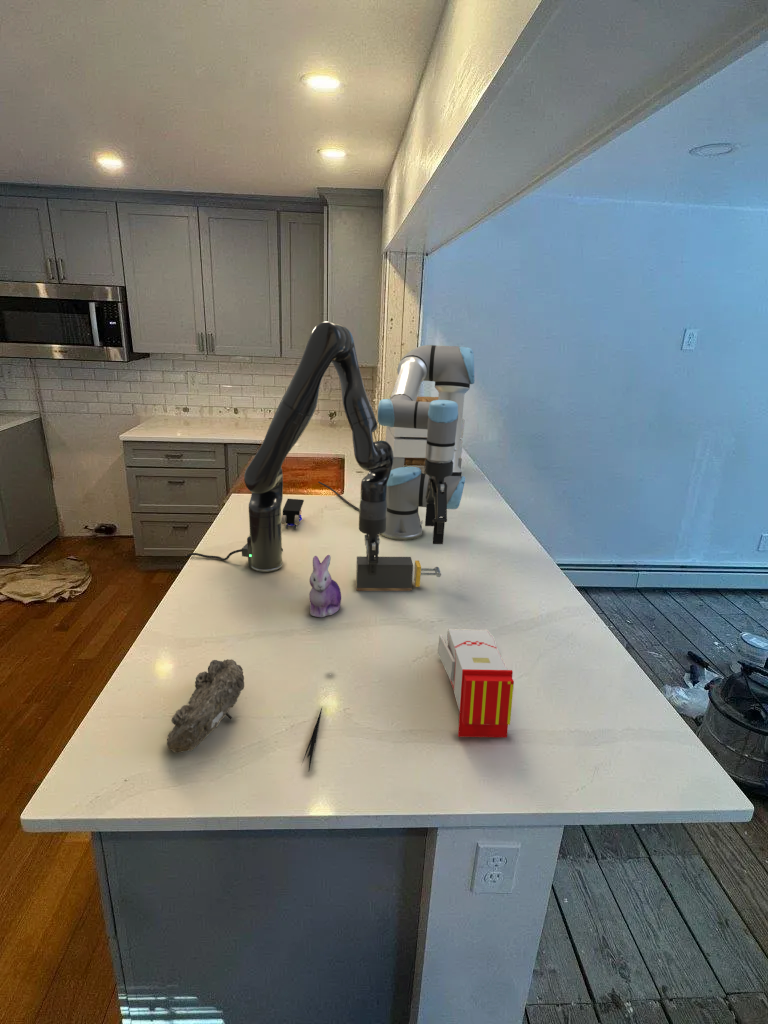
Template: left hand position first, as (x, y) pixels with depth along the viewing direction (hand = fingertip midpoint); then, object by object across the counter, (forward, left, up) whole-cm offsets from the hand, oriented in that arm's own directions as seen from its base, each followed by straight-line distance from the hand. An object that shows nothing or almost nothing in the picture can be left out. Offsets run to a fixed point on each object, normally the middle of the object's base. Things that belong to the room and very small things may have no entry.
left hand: (371, 568), depth 160 cm
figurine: (-7, -17, -6) cm, 19 cm away
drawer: (+9, +3, -5) cm, 11 cm away
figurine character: (-41, +36, -6) cm, 54 cm away
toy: (+34, -38, -6) cm, 51 cm away
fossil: (-12, -62, -6) cm, 64 cm away
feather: (+8, -56, -6) cm, 57 cm away
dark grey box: (+3, +1, -6) cm, 7 cm away
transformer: (-13, +121, -6) cm, 122 cm away
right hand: (+16, +6, +10) cm, 20 cm away
